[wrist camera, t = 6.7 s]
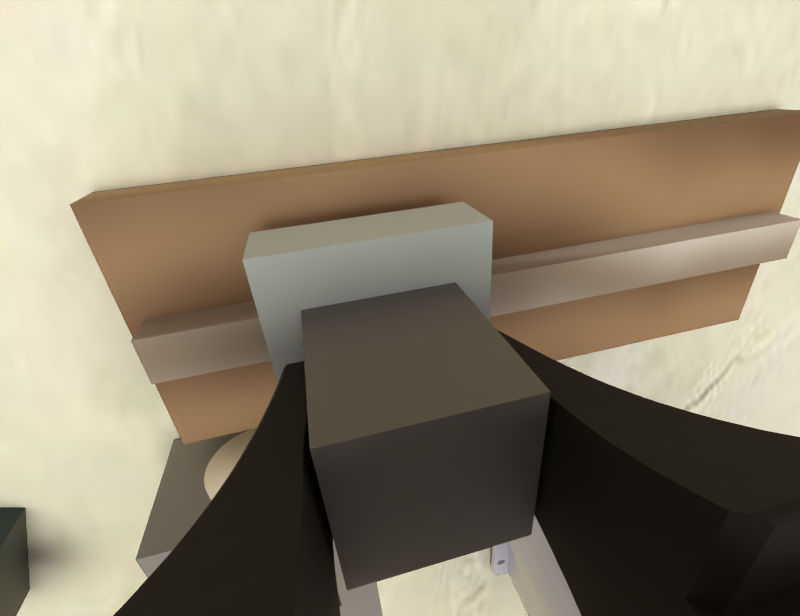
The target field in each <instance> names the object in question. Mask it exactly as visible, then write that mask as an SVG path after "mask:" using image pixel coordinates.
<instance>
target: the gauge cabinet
mask: <svg viewBox="0 0 800 616" xmlns="http://www.w3.org/2000/svg"><path fill="white" fill-rule="evenodd" d="M256 429H257V428H254V429H250V430H245V431H241V432H236V433H232V434H227V435H223V436H219V437H214V438H210V439H205V440H201V441H196V442H192V443H187V444H183V442H182V440H181V439H177V440H174V442H173V445H172V448H171V451H170V454H169V457H168V460H167V464H166V467H165V470H164V473H163V476H162V479H161V482H160V485H159V488H158V492H157V495H156V498H155V501H154V504H153V507H152V510H151V513H150V517H149V520H148V523H147V526H146V529H145V532H144V535H143V538H142V541H141V545H140V548H139V551H138V554H137V557H136V561H137V563H138V564H139V566H140V567H141V569H142V570H143V571H144V573H145V574H146V576H147V577H149V576H150V575H151V574H152V573H153V572H154V571H155V570H156V568H157V567H158V566H159V565H160V564H161V563H162V562H163V561H164V559H165V558H166V557H167V556H168V555H169V554H170V553H171V552H172V550H173V549H174V548H175V547H176V545H177V544H178V543H179V542H180V541H181V539H182V538H183V537H184V536H185V534H186V533H187V532H188V531H189V529H190V528H191V527H192V525H193V524H194V523H195V522H196V520H197V519H198V518H199V516H200V515H201V514H202V512H203V511H204V510H205V508H206V507H207V506H208V505H209V503H210V502H211V500H212V499H213V498H214V496H215V495H216V493H217V492H218V491H219V489H220V488H221V486H222V485H223V483H224V482H225V480H226V479H227V477H228V476H229V474H230V473H231V471H232V470H233V468H234V467H235V465H236V463H237V462H238V460H239V459H240V457H241V455H242V453H243V452H244V450H245V448H246V446H247V445H248V443H249V441H250V440H251V438H252V436H253V434H254V433H255V431H256ZM333 549H334V563H335V572H336V581H337V589H338V598H339V606H340V614H341V616H382V610H381V605H380V599H379V594H378V588H377V583H376V582H374V583H370V584H367V585H364V586H360V587H357V588H354V589H351V590H347V589H346V585H345V581H344V577H343V573H342V570H341V566H340V562H339V558H338V555H337V551H336V547H335V543H334V539H333Z"/></svg>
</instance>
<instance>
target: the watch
mask: <svg viewBox="0 0 800 616" xmlns="http://www.w3.org/2000/svg"><path fill="white" fill-rule="evenodd" d="M28 592H29V573H28V554H27V535H26V516H25V508H0V616H16V615H17V613H18V611H19V609H20V607H21V605H22V603H23V601H24V599H25V598H26V596H27V594H28Z"/></svg>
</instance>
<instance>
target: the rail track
mask: <svg viewBox="0 0 800 616" xmlns="http://www.w3.org/2000/svg"><path fill="white" fill-rule="evenodd" d="M799 161H800V110H781V109H776V110H767V111H759V112H751V113H743V114H734V115H726V116H718V117H710V118H701V119H693V120H685V121H677V122H668V123H660V124H652V125H644V126H635V127H627V128H619V129H611V130H602V131H594V132H586V133H578V134H569V135H561V136H553V137H545V138H536V139H528V140H520V141H512V142H503V143H495V144H487V145H479V146H470V147H462V148H454V149H446V150H437V151H429V152H421V153H413V154H405V155H396V156H388V157H380V158H372V159H363V160H355V161H347V162H339V163H330V164H322V165H314V166H306V167H297V168H289V169H281V170H273V171H264V172H256V173H248V174H240V175H231V176H223V177H215V178H207V179H198V180H190V181H182V182H174V183H165V184H157V185H149V186H141V187H132V188H124V189H116V190H108V191H99V192H92V193H91V194H89V195H87V196H85V197H83V198H81V199H79V200H78V201H76V202H74V203H72V204H70V206H71V208H72V210H73V212H74V215H75V217H76V219H77V221H78V223H79V225H80V227H81V229H82V231H83V234H84V236H85V238H86V240H87V242H88V244H89V246H90V248H91V250H92V252H93V255H94V257H95V259H96V261H97V263H98V265H99V267H100V269H101V271H102V273H103V276H104V278H105V280H106V282H107V284H108V286H109V288H110V290H111V292H112V295H113V297H114V299H115V301H116V303H117V305H118V307H119V309H120V311H121V313H122V316H123V318H124V320H125V322H126V324H127V326H128V328H129V330H130V332H131V335H132V337H133V338H132V340H131V342H132V344H133V346H134V348H135V350H136V352H137V354H138V356H139V358H140V360H141V363H142V365H143V367H144V369H145V371H146V373H147V375H148V377H149V379H150V381H151V383H152V384H155V385H156V387H157V389H158V391H159V393H160V396H161V398H162V400H163V402H164V404H165V406H166V408H167V410H168V412H169V414H170V417H171V419H172V421H173V423H174V425H175V427H176V429H177V431H178V433H179V435H180V438H181V440H182V442H183V444H187V443H192V442H196V441H201V440H205V439H210V438H214V437H219V436H223V435H227V434H232V433H236V432H241V431H245V430H250V429H254V428H257V427H258V425H259V423H260V421H261V419H262V417H263V415H264V413H265V411H266V409H267V407H268V405H269V403H270V401H271V398H272V396H273V394H274V392H275V389H276V387H277V385H278V383H277V379H276V376H275V372H274V369H273V365H272V362H271V358H270V355H269V351H268V348H267V344H266V341H265V337H264V334H263V330H262V327H261V323H260V320H259V316H258V313H257V309H256V306H255V302H254V299H253V295H252V292H251V288H250V285H249V281H248V278H247V274H246V271H245V267H244V264H243V260H242V259H243V256H244V252H245V248H246V244H247V240H248V236H249V233H251V232H257V231H264V230H271V229H278V228H285V227H292V226H299V225H306V224H312V223H319V222H326V221H333V220H340V219H347V218H354V217H361V216H368V215H374V214H381V213H388V212H395V211H402V210H409V209H416V208H423V207H429V206H436V205H443V204H450V203H457V202H465V203H466V204H468V205H469V206H471V207H473V208H474V209H476V210H477V211H479V212H480V213H482V214H483V215H485V216H486V217H488V218H490V219H491V220H493V240H492V267H491V295H490V322H491V324H492V325H493V326H494V327H495V328H496V329H497V330H499V331H501V332H502V333H504V334H506V335H508V336H510V337H512V338H514V339H515V340H517V341H519V342H521V343H523V344H525V345H526V346H528V347H530V348H532V349H534V350H536V351H538V352H540V353H542V354H543V355H545V356H547V357H549V358H551V359H553V360H555V361H556V360H561V359H565V358H570V357H574V356H579V355H583V354H587V353H592V352H596V351H601V350H605V349H610V348H614V347H619V346H623V345H627V344H632V343H636V342H641V341H645V340H650V339H654V338H659V337H663V336H667V335H672V334H676V333H681V332H685V331H690V330H694V329H699V328H703V327H707V326H712V325H716V324H721V323H725V322H730V321H734V320H739V317H740V314H741V312H742V309H743V307H744V304H745V301H746V299H747V296H748V294H749V291H750V288H751V286H752V283H753V281H754V278H755V275H756V273H757V270H758V268H759V265H760V263H764V262H769V261H774V260H779V259H784V258H787V255H788V253H789V250H790V248H791V246H792V243H793V241H794V238H795V236H796V234H797V231H798V229H799V226H800V219H798V218H794V217H790V216H786V215H782V214H779V213H780V210H781V208H782V205H783V203H784V200H785V197H786V195H787V192H788V190H789V187H790V184H791V182H792V179H793V177H794V174H795V171H796V169H797V166H798V164H799Z"/></svg>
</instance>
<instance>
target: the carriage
mask: <svg viewBox="0 0 800 616" xmlns="http://www.w3.org/2000/svg"><path fill="white" fill-rule="evenodd" d="M492 240H493V220H491V219H490V218H488V217H486V216H485V215H483V214H482V213H480V212H479V211H477V210H476V209H474V208H473V207H471V206H469V205H468V204H466V203H465V202H457V203H450V204H443V205H436V206H429V207H423V208H416V209H409V210H402V211H395V212H388V213H381V214H374V215H368V216H361V217H354V218H347V219H340V220H333V221H326V222H319V223H312V224H306V225H299V226H292V227H285V228H278V229H271V230H264V231H257V232H251V233H249V236H248V240H247V244H246V248H245V252H244V256H243V259H242V260H243V264H244V267H245V271H246V274H247V278H248V281H249V285H250V288H251V292H252V295H253V299H254V302H255V306H256V309H257V313H258V316H259V320H260V323H261V327H262V330H263V334H264V337H265V341H266V344H267V348H268V351H269V355H270V358H271V362H272V365H273V369H274V372H275V376H276V379H277V383H278V382H279V379H280V377H281V374H282V371H283V369H284V367H285V366H286V365H287V364H291V363H296V362H301V361H304V366H305V382H306V398H307V414H308V429H309V445H310V452H311V456H312V460H313V464H314V467H315V471H316V475H317V479H318V482H319V486H320V490H321V494H322V498H323V501H324V505H325V509H326V513H327V517H328V520H329V524H330V528H331V532H332V536H333V539H334V543H335V547H336V551H337V555H338V558H339V562H340V566H341V570H342V573H343V577H344V581H345V585H346V589H347V590H351V589H354V588H357V587H360V586H364V585H367V584H370V583H374V582H377V581H380V580H384V579H387V578H390V577H394V576H397V575H400V574H404V573H407V572H410V571H413V570H417V569H420V568H423V567H427V566H430V565H433V564H437V563H440V562H443V561H447V560H450V559H453V558H456V557H460V556H463V555H466V554H470V553H473V552H476V551H480V550H483V549H486V548H490V547H493V546H496V545H500V544H503V543H506V542H509V541H513V540H516V539H519V538H523V537H526V536H529V535H531V534H532V527H533V519H534V512H535V505H536V497H537V490H538V482H539V475H540V468H541V460H542V453H543V445H544V438H545V431H546V423H547V416H548V408H549V401H550V394H551V392H550V390H549V389H548V388H547V387H546V386H545V385H544V383H543V382H542V381H541V380H540V379H539V378H538V377H537V375H536V374H535V373H534V372H533V371H532V370H531V369H530V367H529V366H528V365H527V364H526V363H525V362H524V360H523V359H522V358H521V357H520V356H519V355H518V354H517V352H516V351H515V350H514V349H513V348H512V347H511V345H510V344H509V343H508V342H507V341H506V340H505V339H504V337H503V336H502V335H501V334H500V333H499V332H498V331H497V329H496V328H495V327H494V326H493V325H492V324H491V322H490V295H491V267H492Z"/></svg>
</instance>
